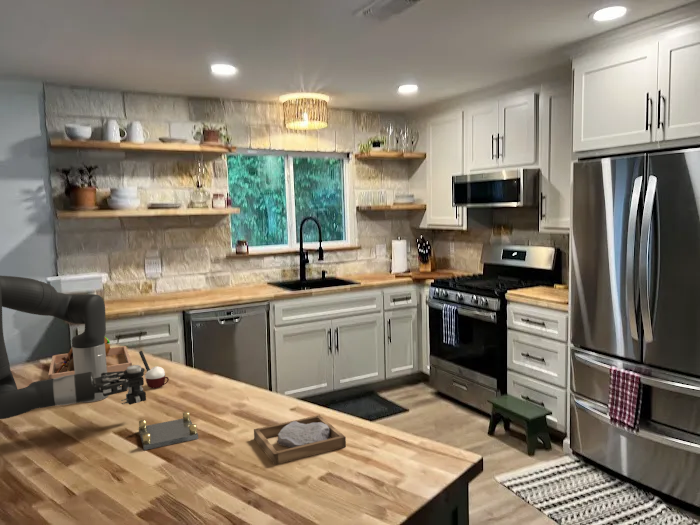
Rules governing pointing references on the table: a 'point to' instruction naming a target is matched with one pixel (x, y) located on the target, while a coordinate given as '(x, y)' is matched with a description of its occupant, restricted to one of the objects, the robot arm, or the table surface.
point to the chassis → (167, 432)
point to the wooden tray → (109, 368)
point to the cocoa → (154, 374)
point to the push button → (135, 392)
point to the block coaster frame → (300, 451)
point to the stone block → (303, 434)
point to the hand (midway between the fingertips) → (142, 377)
